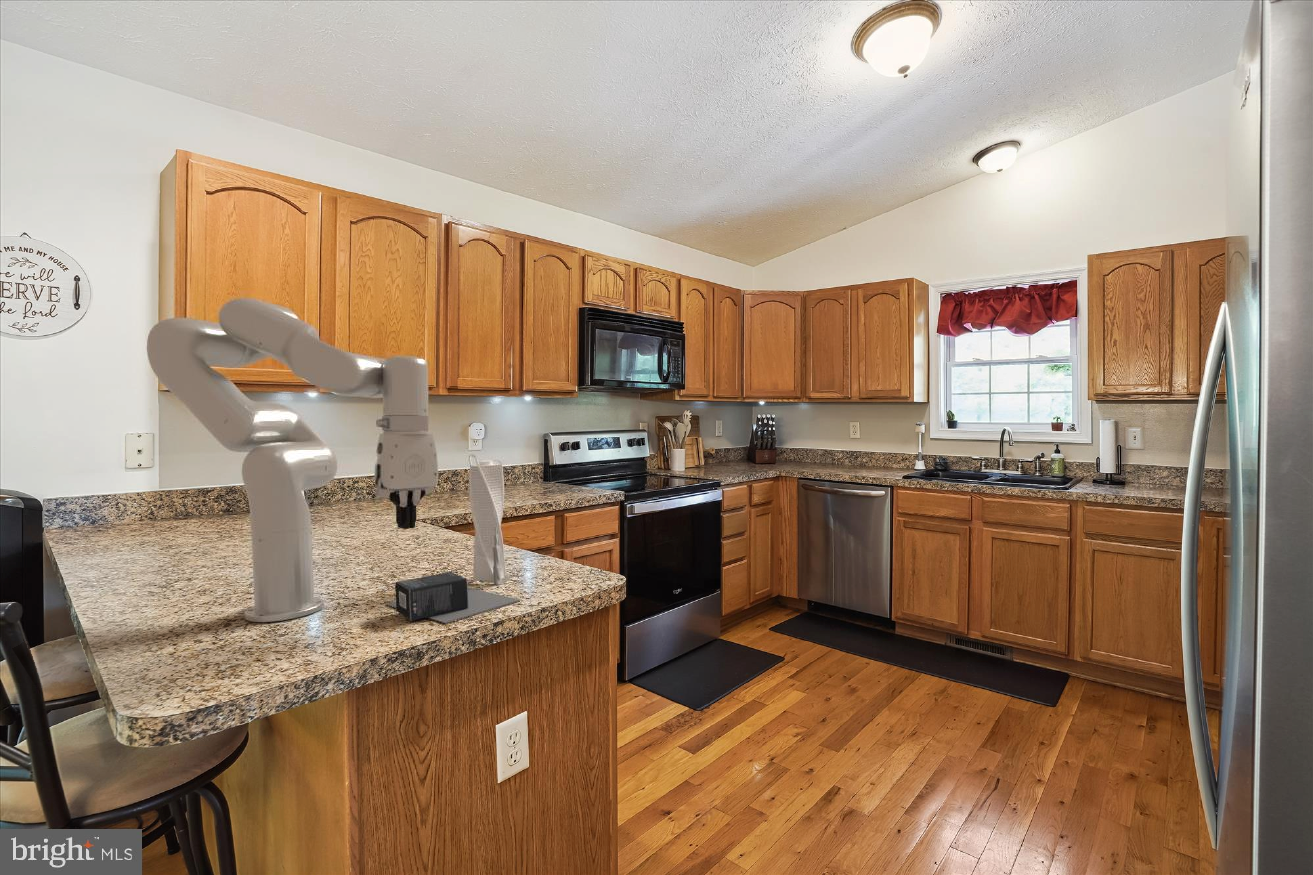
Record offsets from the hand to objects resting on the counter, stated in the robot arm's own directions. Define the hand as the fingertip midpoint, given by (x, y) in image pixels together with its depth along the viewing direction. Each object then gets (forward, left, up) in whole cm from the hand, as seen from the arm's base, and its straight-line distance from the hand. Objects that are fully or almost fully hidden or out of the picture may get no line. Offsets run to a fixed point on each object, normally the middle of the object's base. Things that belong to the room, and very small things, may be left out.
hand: (406, 527), depth 110 cm
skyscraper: (-8, +23, -16) cm, 30 cm away
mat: (+1, +8, -16) cm, 18 cm away
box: (+1, -2, -13) cm, 13 cm away
